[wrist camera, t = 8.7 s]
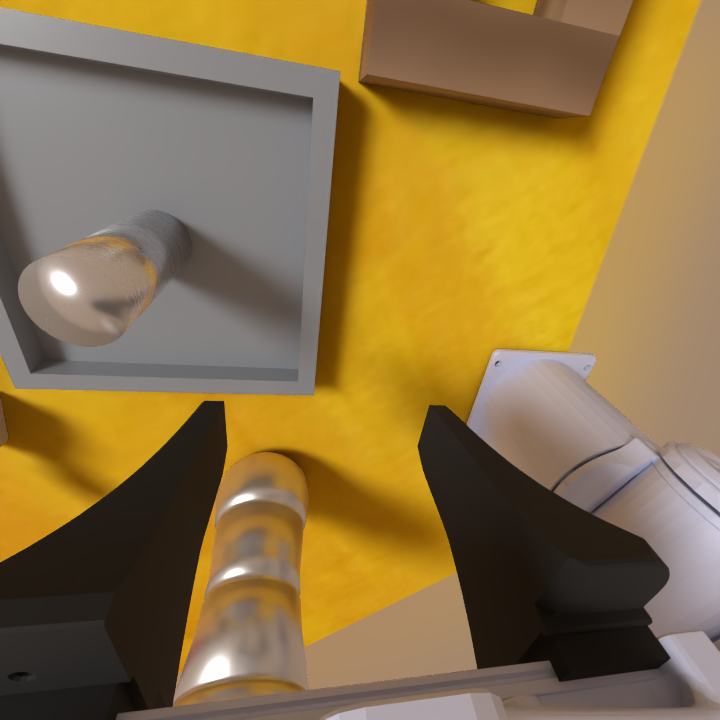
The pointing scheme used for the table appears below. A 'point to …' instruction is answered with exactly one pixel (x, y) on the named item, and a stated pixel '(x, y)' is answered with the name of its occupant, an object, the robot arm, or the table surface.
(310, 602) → the table surface
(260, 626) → the plastic bottle
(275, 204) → the tray
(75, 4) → the table surface
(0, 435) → the lighter
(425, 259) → the table surface
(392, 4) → the block
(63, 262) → the steel pin
